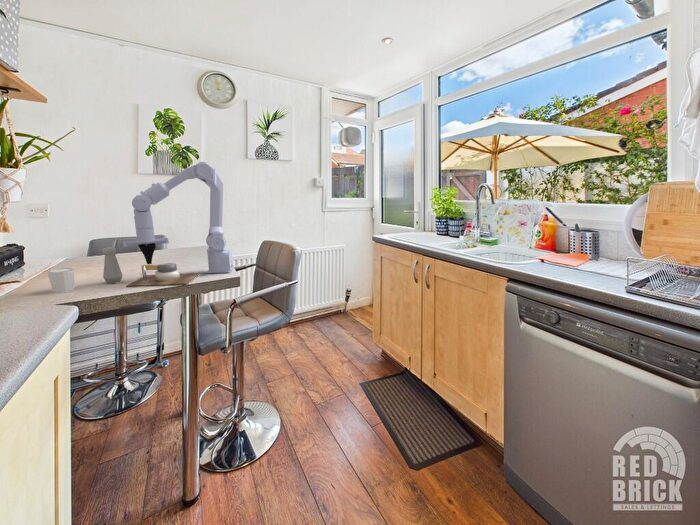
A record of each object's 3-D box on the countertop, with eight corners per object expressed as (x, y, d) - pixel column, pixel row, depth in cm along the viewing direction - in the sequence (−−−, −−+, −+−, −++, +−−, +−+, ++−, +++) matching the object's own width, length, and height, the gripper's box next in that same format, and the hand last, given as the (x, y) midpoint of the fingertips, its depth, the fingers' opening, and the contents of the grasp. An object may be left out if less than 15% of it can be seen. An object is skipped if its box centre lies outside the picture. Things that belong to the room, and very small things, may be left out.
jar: (183, 275, 130) (182, 267, 130) (175, 280, 123) (174, 272, 122) (161, 276, 129) (160, 268, 129) (152, 281, 122) (151, 273, 121)
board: (199, 274, 135) (199, 273, 135) (186, 284, 120) (186, 283, 120) (146, 276, 132) (146, 274, 132) (126, 287, 117) (126, 285, 117)
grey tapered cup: (61, 287, 116) (57, 268, 115) (82, 287, 117) (78, 267, 115) (45, 293, 110) (41, 272, 108) (67, 292, 110) (63, 272, 109)
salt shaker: (113, 284, 120) (108, 249, 118) (100, 283, 121) (94, 248, 119) (127, 280, 126) (122, 246, 123) (114, 279, 127) (109, 246, 124)
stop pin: (151, 282, 123) (149, 265, 122) (148, 284, 120) (145, 266, 119) (143, 282, 123) (140, 265, 121) (139, 284, 120) (137, 267, 119)
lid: (180, 268, 128) (179, 262, 128) (171, 272, 122) (170, 266, 122) (148, 268, 129) (147, 262, 128) (138, 272, 122) (137, 266, 122)
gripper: (164, 226, 132) (168, 259, 135) (120, 228, 123) (125, 264, 126) (167, 227, 127) (171, 262, 130) (122, 230, 118) (127, 267, 121)
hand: (149, 263), depth 128 cm, fingers closed
